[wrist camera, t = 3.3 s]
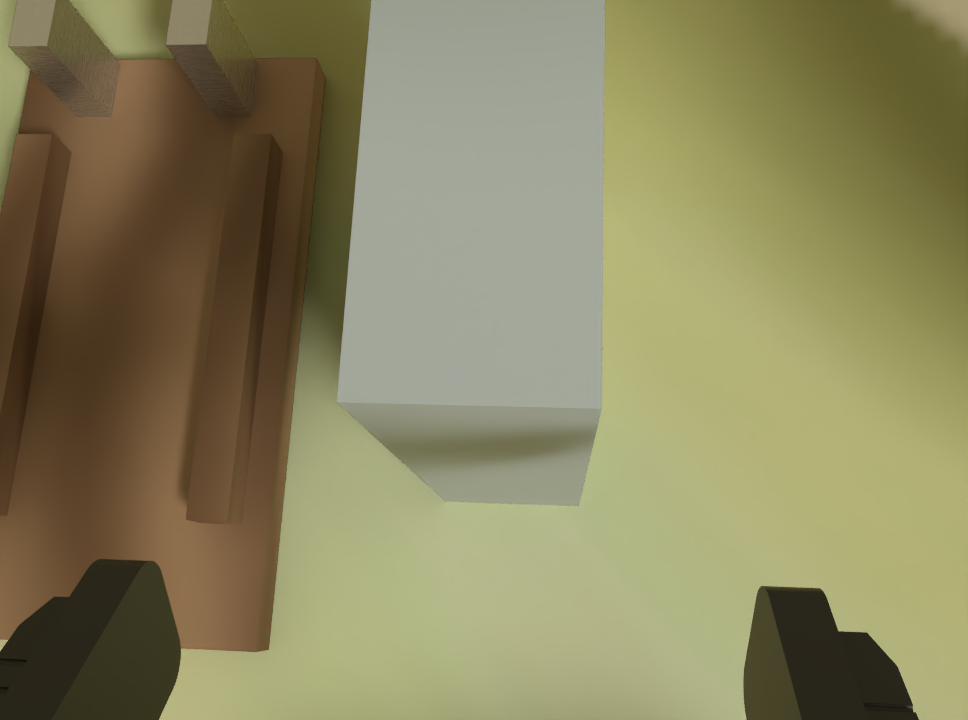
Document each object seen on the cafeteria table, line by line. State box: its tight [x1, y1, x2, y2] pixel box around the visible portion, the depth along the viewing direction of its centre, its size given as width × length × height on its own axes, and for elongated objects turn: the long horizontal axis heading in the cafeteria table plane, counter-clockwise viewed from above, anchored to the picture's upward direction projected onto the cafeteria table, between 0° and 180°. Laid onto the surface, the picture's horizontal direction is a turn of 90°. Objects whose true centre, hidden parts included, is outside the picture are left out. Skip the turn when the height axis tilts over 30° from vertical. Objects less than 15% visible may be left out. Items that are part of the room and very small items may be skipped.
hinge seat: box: [0, 0, 325, 652], centre depth 27 cm, size 10×19×5 cm, turn 178°
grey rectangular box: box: [337, 0, 605, 506], centre depth 22 cm, size 4×11×14 cm, turn 178°
